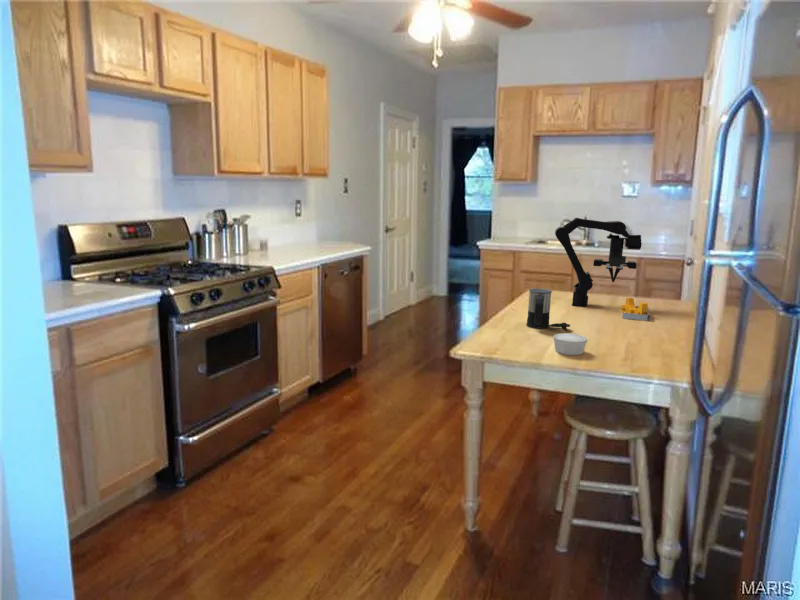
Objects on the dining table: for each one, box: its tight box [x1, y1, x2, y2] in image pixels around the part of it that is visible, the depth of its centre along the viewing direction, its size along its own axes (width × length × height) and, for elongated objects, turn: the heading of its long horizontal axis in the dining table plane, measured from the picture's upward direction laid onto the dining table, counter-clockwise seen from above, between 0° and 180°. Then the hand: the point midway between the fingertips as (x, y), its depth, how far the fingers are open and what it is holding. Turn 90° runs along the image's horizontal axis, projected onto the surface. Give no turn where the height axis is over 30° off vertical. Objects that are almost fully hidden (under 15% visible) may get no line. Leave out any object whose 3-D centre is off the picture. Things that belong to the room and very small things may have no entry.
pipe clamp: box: [621, 297, 649, 315], centre depth 264 cm, size 12×4×6 cm, turn 13°
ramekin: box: [552, 332, 588, 356], centre depth 206 cm, size 11×11×5 cm
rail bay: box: [621, 305, 651, 322], centre depth 263 cm, size 11×18×2 cm, turn 160°
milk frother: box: [526, 287, 571, 330], centre depth 237 cm, size 14×16×15 cm
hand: (613, 282), depth 276 cm, fingers closed
